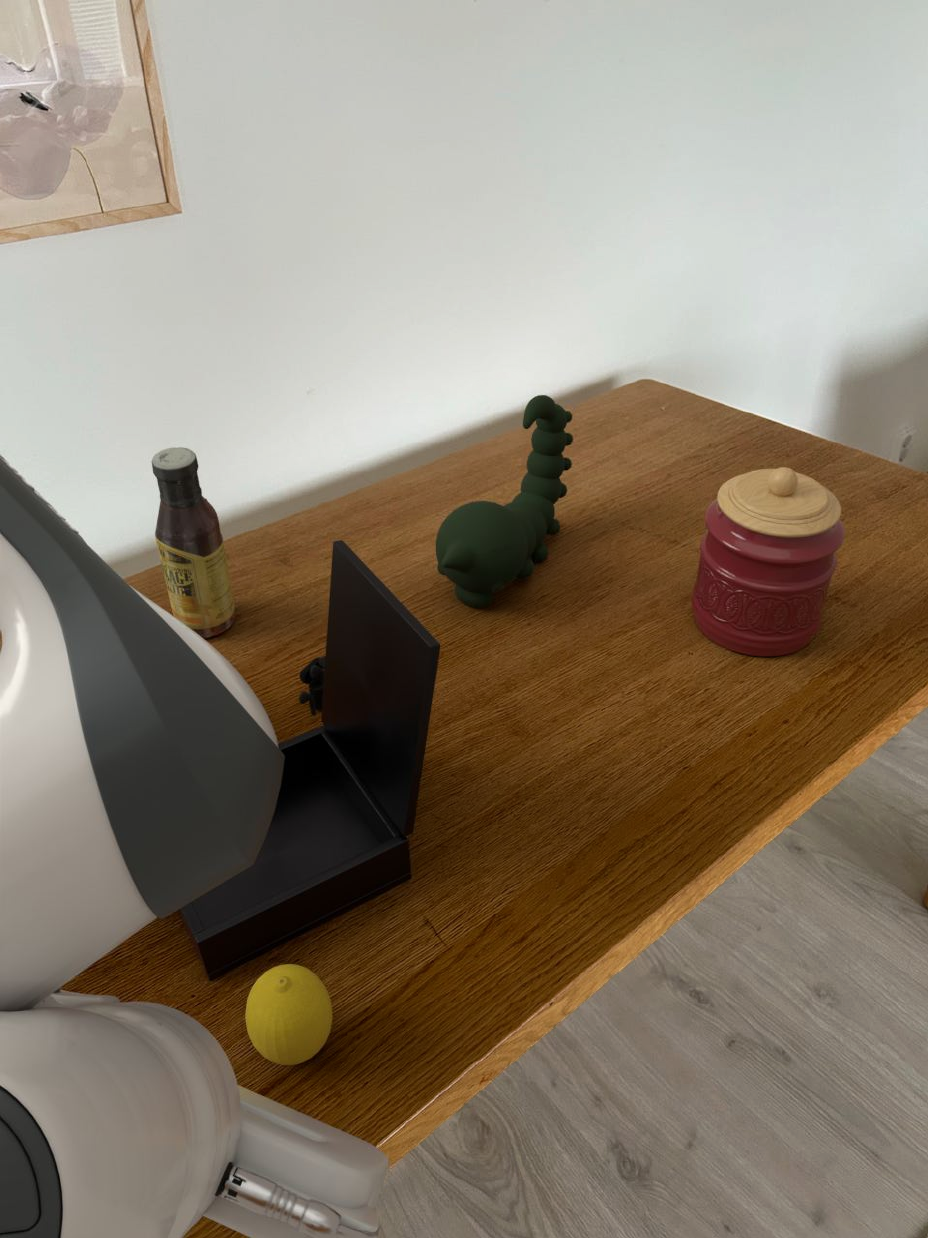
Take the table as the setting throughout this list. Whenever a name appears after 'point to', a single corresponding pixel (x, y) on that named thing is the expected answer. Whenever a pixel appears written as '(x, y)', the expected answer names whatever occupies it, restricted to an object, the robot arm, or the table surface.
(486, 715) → the table surface
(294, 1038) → the lemon
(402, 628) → the lid
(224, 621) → the sauce bottle
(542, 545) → the toy figurine
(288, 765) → the black box base
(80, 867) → the robot arm
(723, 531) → the kitchen canister
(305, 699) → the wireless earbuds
